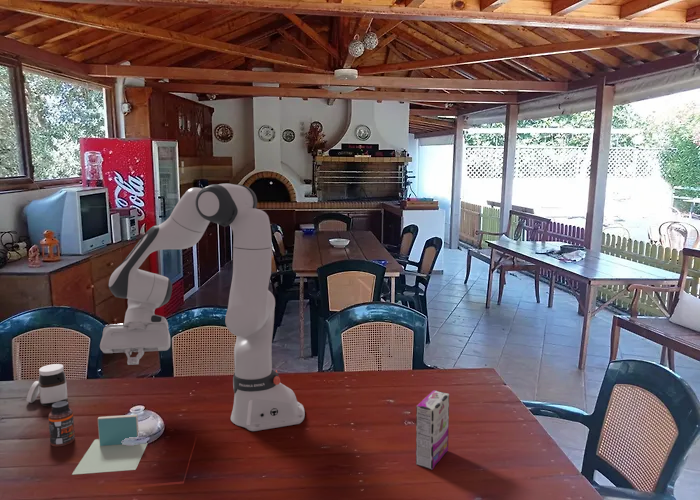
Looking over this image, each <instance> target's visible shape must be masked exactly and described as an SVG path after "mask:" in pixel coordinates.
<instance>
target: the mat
mask: <svg viewBox="0 0 700 500" xmlns="http://www.w3.org/2000/svg"><path fill="white" fill-rule="evenodd" d="M148 444H149V442H148V443H146V444H140V445H134V446H126V445H111V446H100V444H99V438H96V439H94V440H93V441H92V443H91V445H90V447H89V448H88V449H87V451H86V452H85V453H84V454H83V457H82V458H81V459H80V461H79V462H78V464H77V466H76V467H75V468H74V470H73V472H72V474H71V475H74V476H75V475H83V474H84V475H85V474H96V473H97V474H98V473H113V472H124V471H125V472H126V471H136V469H137V468H138V465H139V463H140V461H141V458H142V457H143V454H144V453H145V451H146V448H147V446H148Z"/></svg>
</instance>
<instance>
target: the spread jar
mask: <svg viewBox="0 0 700 500" xmlns="http://www.w3.org/2000/svg"><path fill="white" fill-rule="evenodd" d="M38 372H39V373H38V374H39V375H38V380H35V381H34V382H33V383H32V384H31V386H30V388H29V390H28V392H27V395H26V402H27V403H30V404H31V403H34V402H35V401H36V399H37V398H38V395H39V402H40V404H41V406H44V407H52V405H53V404H54V403H56V402H61V401H66V402H67V400H68V389H67V386H68V385H67V377H66V374H65V371H64V364H61V363H52V364H48V365H44V366H42V367H40V368H39V369H38Z"/></svg>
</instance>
